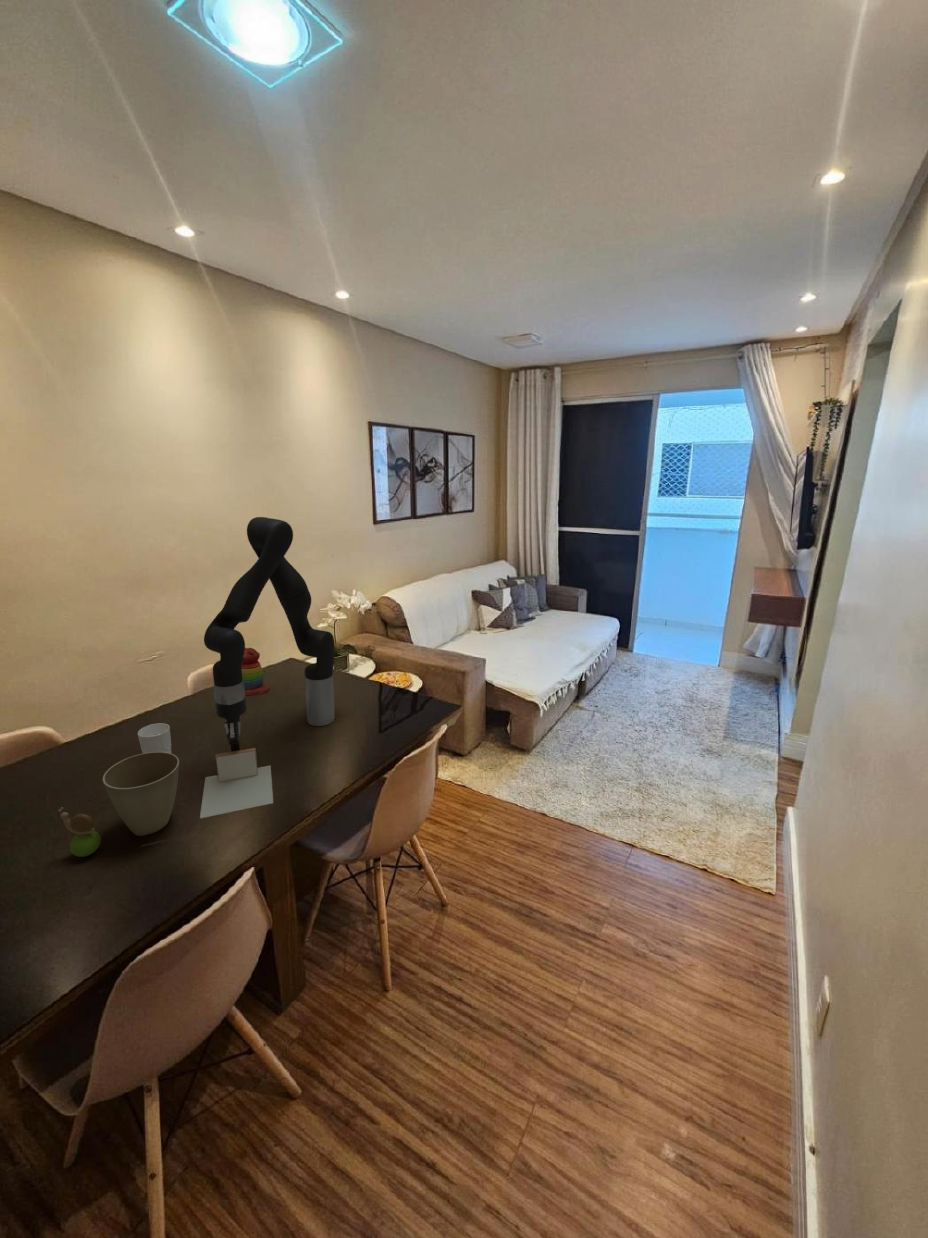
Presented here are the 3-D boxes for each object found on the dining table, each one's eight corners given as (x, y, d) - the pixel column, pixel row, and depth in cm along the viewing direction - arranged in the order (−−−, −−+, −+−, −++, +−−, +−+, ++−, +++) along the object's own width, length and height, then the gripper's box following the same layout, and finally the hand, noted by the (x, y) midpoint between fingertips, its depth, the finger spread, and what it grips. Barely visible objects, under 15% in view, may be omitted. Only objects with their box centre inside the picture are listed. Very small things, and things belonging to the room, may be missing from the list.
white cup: (179, 756, 144) (175, 727, 141) (154, 770, 137) (149, 739, 135) (162, 750, 147) (158, 720, 145) (136, 762, 141) (131, 732, 138)
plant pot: (133, 858, 107) (122, 797, 102) (102, 831, 114) (90, 773, 109) (199, 820, 119) (191, 764, 114) (167, 798, 126) (158, 744, 122)
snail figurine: (78, 844, 110) (68, 800, 106) (108, 844, 110) (98, 799, 107) (61, 863, 104) (50, 817, 101) (92, 862, 105) (82, 816, 102)
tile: (218, 779, 134) (215, 754, 131) (257, 772, 138) (255, 747, 135) (218, 782, 132) (215, 757, 130) (257, 775, 136) (255, 750, 134)
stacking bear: (271, 691, 189) (268, 649, 184) (245, 698, 182) (241, 655, 177) (259, 682, 196) (255, 641, 191) (234, 689, 189) (229, 647, 184)
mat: (205, 779, 135) (205, 777, 134) (270, 767, 141) (270, 765, 141) (200, 820, 119) (199, 818, 119) (273, 804, 125) (273, 803, 125)
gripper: (216, 689, 136) (222, 743, 140) (212, 709, 124) (219, 768, 129) (245, 685, 138) (250, 739, 143) (244, 705, 127) (250, 762, 132)
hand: (235, 752), depth 136 cm, fingers closed
